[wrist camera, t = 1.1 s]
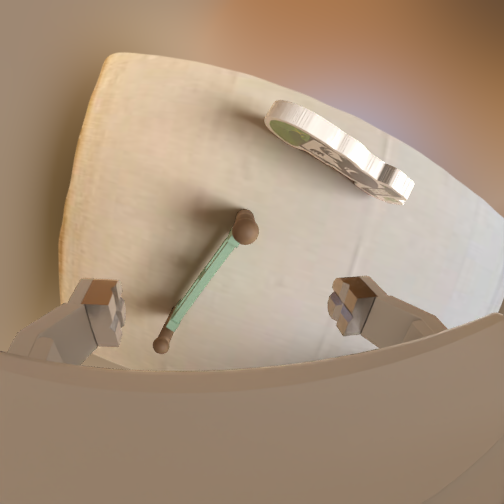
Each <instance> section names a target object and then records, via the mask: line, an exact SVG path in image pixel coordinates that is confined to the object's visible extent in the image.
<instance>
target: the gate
mask: <svg viewBox="0 0 504 504" xmlns="http://www.w3.org/2000/svg"><path fill="white" fill-rule="evenodd" d="M239 244H240V243H238V242H237V241H236V240H235V239H234V238H233V235H232V229H231V230H230V233H229V235H228V237H227V238H226V239H225V241H224V242H223V243H222V245H221V246H220V248H219V249H218V250H217V252H216V253H215V254H214V256H213V257H212V258H211V260H210V261H209V263H208V264H207V265H206V267H205V268H204V269H203V271H202V272H201V274H200V275H199V276H198V278H197V279H196V281H195V282H194V283H193V285H192V286H191V288H190V289H189V290H188V292H187V293H186V295H185V296H184V297H183V299H182V300H180V301H179V302H178V304H177V305H176V307H175V309H174V311H173V313H172V315H171V317H170V319H169V321H168V323H167V325H166V327H167V328H168V329H170V330H171V331H173V332H175V330H176V329H177V327H178V326H179V324H180V322H181V319H182V318H183V316H184V315H185V314H186V312H187V311H188V310H189V308H190V307H191V306H192V304H193V303H194V301H195V300H196V299H197V297H198V296H199V295H200V293H201V292H202V291H203V289H204V288H205V287H206V285H207V284H208V283H209V281H210V280H211V278H212V277H213V276H214V274H215V273H216V272H217V270H218V269H219V268H220V266H221V265H222V264H223V262H224V261H225V260H226V258H227V257H228V256H229V254H230V253H231V252H232V250H233V249H234V248H235V247H236V248H237V247H238V245H239Z"/></svg>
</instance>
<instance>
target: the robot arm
mask: <svg viewBox="0 0 504 504" xmlns="http://www.w3.org/2000/svg"><path fill="white" fill-rule="evenodd" d="M332 288H333V290H334V292H333V293H332V294H331V295H330V296H329V300H328V312H329V315H330V316H331V318H332V319H334V320H335V321H337V325H336V326H337V327H338V329H339V331H340V332H341V334H342V335H343V336H349V335H357V334H361V335H362V336H363V337H364V338H366V339H367V340H369V341H370V342H371V343H373V344H374V345H376V346H377V347H378V348H380V349H375V350H371V351H366V352H361V353H356V354H351V355H346V356H341V357H335V358H329V359H323V360H317V361H310V362H304V363H296V364H288V365H280V366H270V367H260V368H247V369H232V370H212V371H144V370H124V369H110V368H100V367H90V366H81V364H82V363H83V362H84V361H85V359H86V358H87V357H88V356H89V355H90V354H91V353H92V352H93V351H94V350H95V349H96V348H97V346H108V347H119V345H120V341H121V337H122V331H121V328H122V327H123V326H124V324H125V319H126V308H125V301H124V300H123V299H122V297H121V294H122V291H123V290H122V285H121V282H120V280H112V279H94V278H83V279H81V280H80V281H79V283H78V285H77V287H76V288H75V290H74V292H73V294H72V296H71V297H70V299H69V301H68V303H63V304H62V305H60V306H58V307H57V308H55V309H54V310H52V311H50V312H49V313H47V314H45V315H44V316H42V317H41V318H39V319H38V320H36V321H35V322H33V323H31V324H30V325H28V326H26V327H25V328H24V329H22V330H20V331H19V332H18V333H17V335H16V336H15V338H14V340H13V342H12V344H11V346H10V348H9V350H8V351H7V352H3V351H0V504H504V315H503V314H500V313H491V314H489V315H487V316H484V317H482V318H479V319H476V320H474V321H471V322H468V323H466V324H463V325H460V326H457V327H454V328H451V329H447V328H446V327H445V326H444V325H443V324H442V323H441V321H440V320H439V319H438V318H437V317H436V316H434V315H432V314H430V313H428V312H426V311H424V310H421V309H419V308H417V307H415V306H413V305H410V304H408V303H406V302H404V301H402V300H400V299H397V298H395V297H393V296H388V295H387V294H386V293H385V292H384V291H383V290H382V289H381V288H380V287H379V286H378V285H377V284H376V283H375V282H374V281H373V280H372V279H371V278H370V277H369V276H357V277H345V278H336V279H335V280H334V282H333V286H332Z"/></svg>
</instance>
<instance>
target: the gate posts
mask: <svg viewBox="0 0 504 504" xmlns="http://www.w3.org/2000/svg"><path fill="white" fill-rule="evenodd" d="M258 234H259V228H258V226H257V224H256V223H255V220H254V216H253V214H252V212H251V211H249V210H247V209H243V210H240V211H239V212H238V213H237V215H236V220H235V224H234V225H233V228H232V235H233V238H234V239H235V240H236V241H237V242H238V243H240V244H243V245H248V244H251V243H253V242H254V241H255V240H256V239H257V237H258ZM174 309H175V307H173V308H172V310H171V312H170V314H169V316H168V318H167V320H166V322H165V324H164V326H163V328H162V330H161V332H160V334H159V336H158V338H157V339H155V340H154V342H153V348H154V350H155V351H156V352H157V353H159V354H164V353H166V352H167V351H168V349H169V342H170V340H171V337H172V335H173V331H171V330H170V329H168V328H167V327H166V325H167V323H168V321H169V319H170V317H171V315H172V313H173V311H174Z"/></svg>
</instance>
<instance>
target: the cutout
mask: <svg viewBox="0 0 504 504" xmlns="http://www.w3.org/2000/svg"><path fill="white" fill-rule="evenodd" d="M264 122H265V125H266V126H267V128H268V129H269V130H270V131H271V132H272V133H274V134H275V135H276V136H277V137H279V138H280V139H281V140H283V141H284V142H286V143H287V144H289V145H291V146H293V147H295V148H297V149H300V150H305V151H306V152H308V153H310V154H311V155H312V156H314V157H315V158H317V159H319V160H320V161H322V162H324V163H325V164H327V165H329V166H331V167H333V168H335V169H336V170H337V171H339V172H340V173H342V174H343V175H345V176H346V177H348V178H350V179H351V180H353V181H355V183H354V184H355V185H356V186H358V187H359V188H360V189H362V190H363V191H365V192H366V193H368V194H369V195H371V196H373V197H375V198H377V199H379V200H382V201H385V202H387V203H393V204H398V205H404V203H405V201H407V199H408V197H409V195H410V193H411V191H412V188H413V186H414V182H413V181H412V180H411V179H410V178H409V177H407V176H406V175H405V174H404V173H403V172H401V171H400V170H399V169H397V168H395V167H393V166H390V165H388V164H385V163H384V162H383V161H381V160H380V159H379V158H377V157H376V156H375V155H373V154H372V153H370V152H369V151H368V150H367V148H366V147H365V146H364V145H362V144H361V143H360V142H359V141H357V140H356V139H354V138H353V137H351V136H350V135H348V134H346V133H345V132H343V131H342V130H340V129H339V128H338V127H336V126H335V125H333V124H332V123H330V122H329V121H327V120H326V119H324V118H322V117H321V116H319V115H318V114H316V113H314V112H313V111H311V110H309V109H307V108H305V107H302V106H300V105H298V104H295V103H292V102H288V101H283V100H278V101H275V102H274V103H273V105H272V107H271V108H270V110H269V112H268V113H267V115H266V117H265V119H264Z"/></svg>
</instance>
